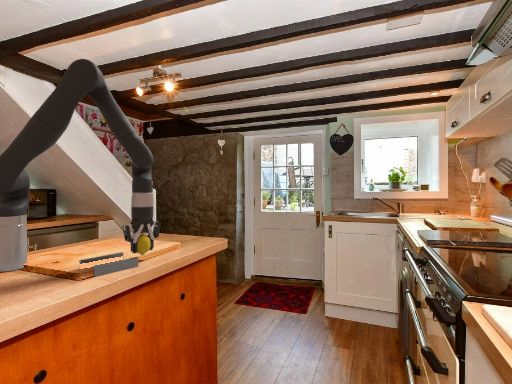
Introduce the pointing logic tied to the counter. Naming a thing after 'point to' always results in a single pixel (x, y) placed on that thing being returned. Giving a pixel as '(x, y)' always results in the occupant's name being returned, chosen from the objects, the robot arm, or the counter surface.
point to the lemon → (143, 244)
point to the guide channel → (111, 264)
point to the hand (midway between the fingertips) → (142, 251)
